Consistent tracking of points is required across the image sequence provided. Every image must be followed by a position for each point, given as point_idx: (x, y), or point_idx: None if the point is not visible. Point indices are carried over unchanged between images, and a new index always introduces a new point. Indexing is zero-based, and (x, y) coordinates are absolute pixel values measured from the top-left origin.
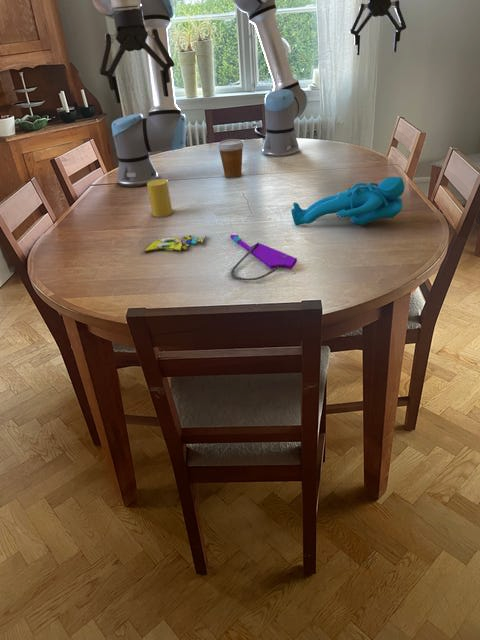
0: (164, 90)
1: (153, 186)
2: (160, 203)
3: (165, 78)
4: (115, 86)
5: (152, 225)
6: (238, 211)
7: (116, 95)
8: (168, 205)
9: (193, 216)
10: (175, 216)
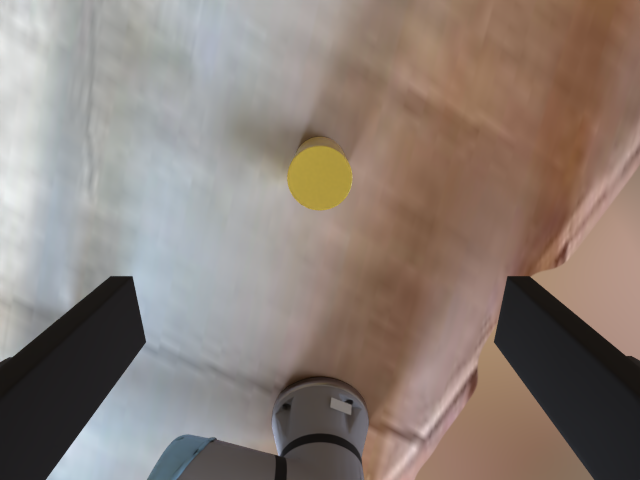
0: (113, 323)
1: (338, 151)
2: (325, 140)
3: (5, 368)
4: (615, 358)
5: (364, 87)
6: (126, 55)
7: (565, 307)
8: (303, 144)
9: (250, 91)
10: (294, 120)
